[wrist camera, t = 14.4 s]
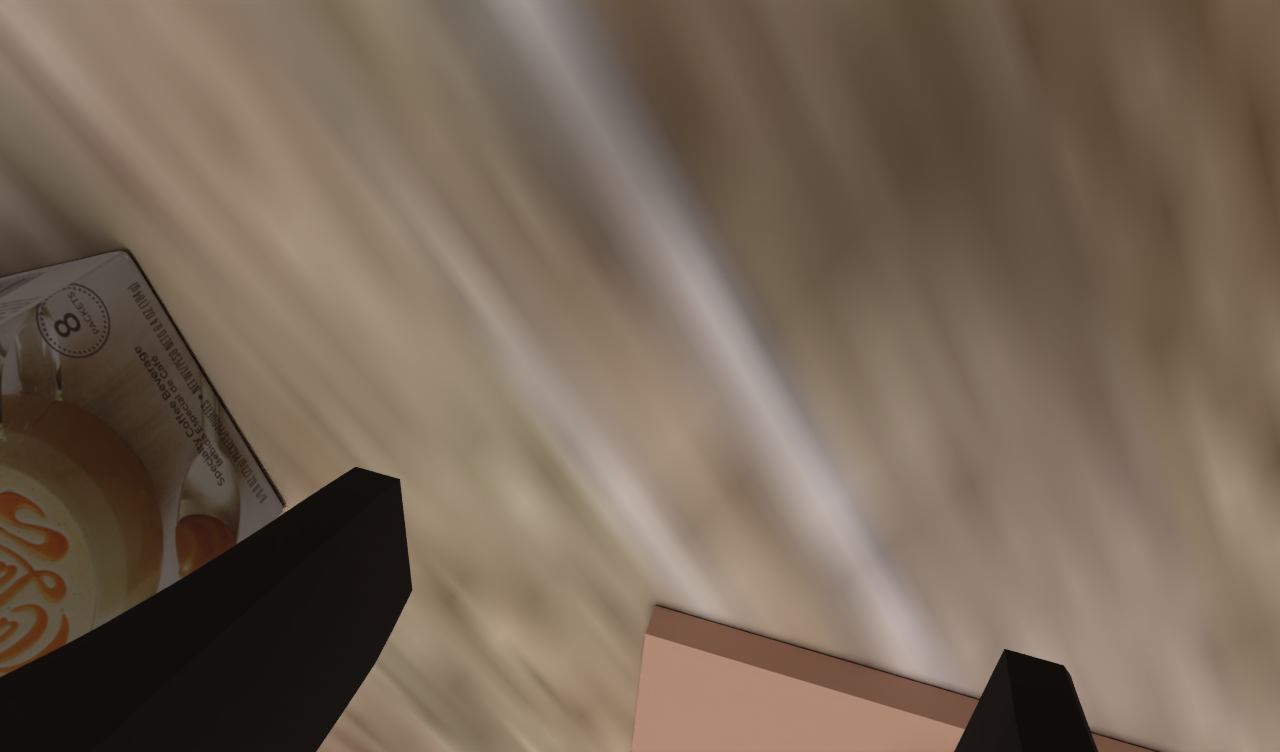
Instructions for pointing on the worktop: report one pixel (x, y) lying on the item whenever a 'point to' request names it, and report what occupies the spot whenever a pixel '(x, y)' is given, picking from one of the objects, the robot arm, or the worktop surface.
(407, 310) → the worktop surface
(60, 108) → the worktop surface
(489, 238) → the worktop surface
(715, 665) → the jug holder
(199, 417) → the coffee box
